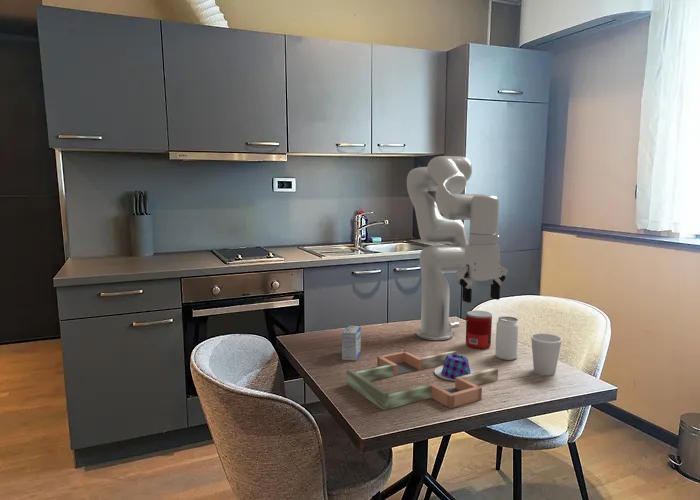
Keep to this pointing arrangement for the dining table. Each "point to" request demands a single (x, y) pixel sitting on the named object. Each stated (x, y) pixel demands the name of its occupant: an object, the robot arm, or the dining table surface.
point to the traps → (449, 398)
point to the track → (387, 401)
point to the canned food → (478, 329)
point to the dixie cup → (545, 352)
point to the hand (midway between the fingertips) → (481, 300)
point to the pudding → (454, 367)
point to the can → (507, 338)
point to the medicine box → (351, 343)
